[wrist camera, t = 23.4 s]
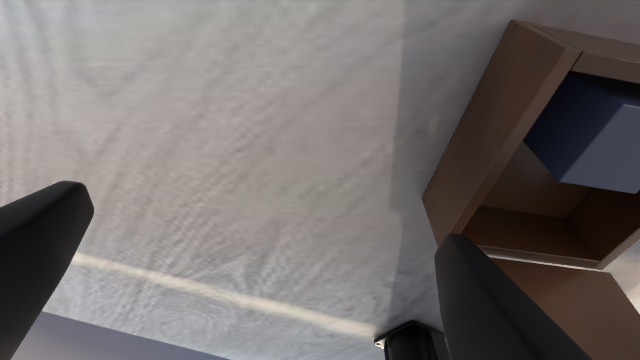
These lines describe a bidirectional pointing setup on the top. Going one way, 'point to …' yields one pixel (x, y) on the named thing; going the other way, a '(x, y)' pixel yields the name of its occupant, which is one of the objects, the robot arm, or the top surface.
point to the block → (591, 133)
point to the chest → (531, 158)
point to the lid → (582, 306)
